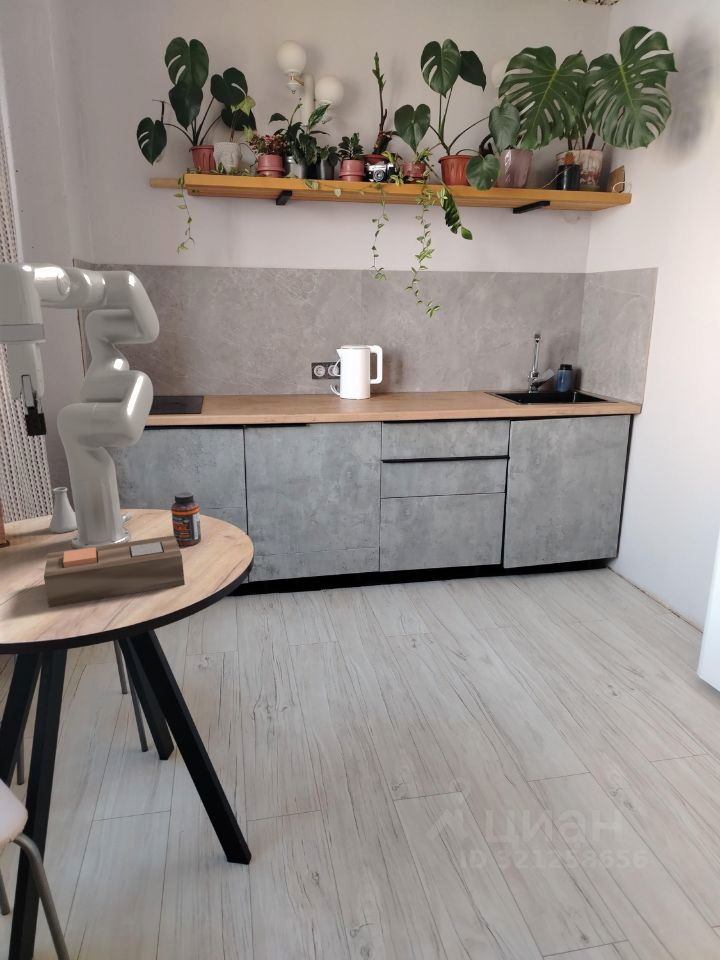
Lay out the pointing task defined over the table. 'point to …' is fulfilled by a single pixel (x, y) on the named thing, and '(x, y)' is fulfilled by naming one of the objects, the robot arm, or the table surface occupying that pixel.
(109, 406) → the robot arm
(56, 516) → the flask
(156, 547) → the metal button
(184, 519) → the supplement bottle
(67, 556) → the terracotta button
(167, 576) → the button console
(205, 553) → the table surface
